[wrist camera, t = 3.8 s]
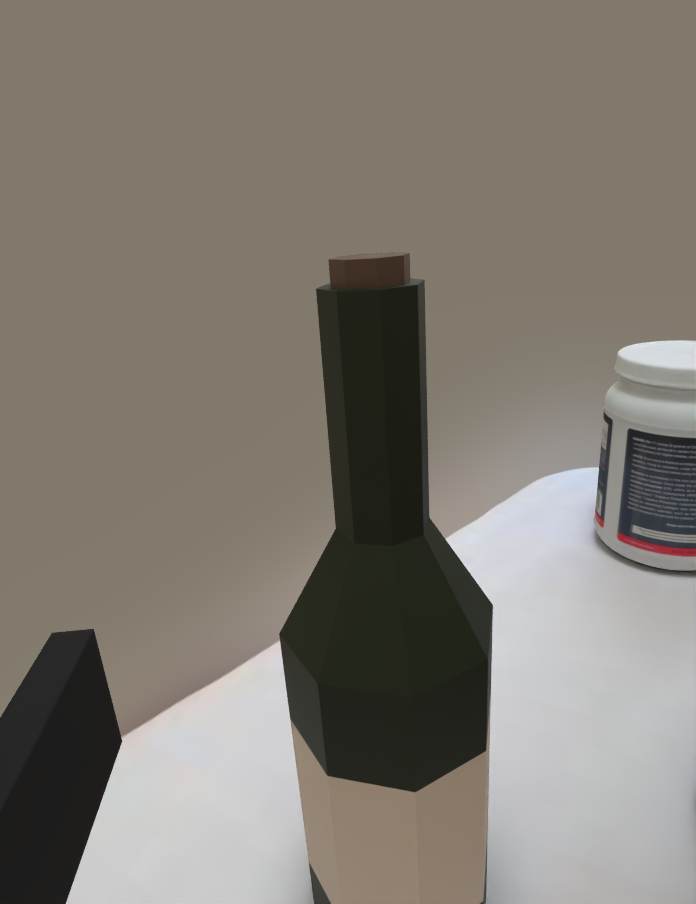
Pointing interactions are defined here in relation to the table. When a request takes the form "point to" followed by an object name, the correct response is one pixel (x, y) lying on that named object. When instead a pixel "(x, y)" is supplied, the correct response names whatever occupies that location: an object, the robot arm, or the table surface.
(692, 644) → the table surface
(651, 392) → the supplement tub
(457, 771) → the wine bottle
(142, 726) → the table surface
